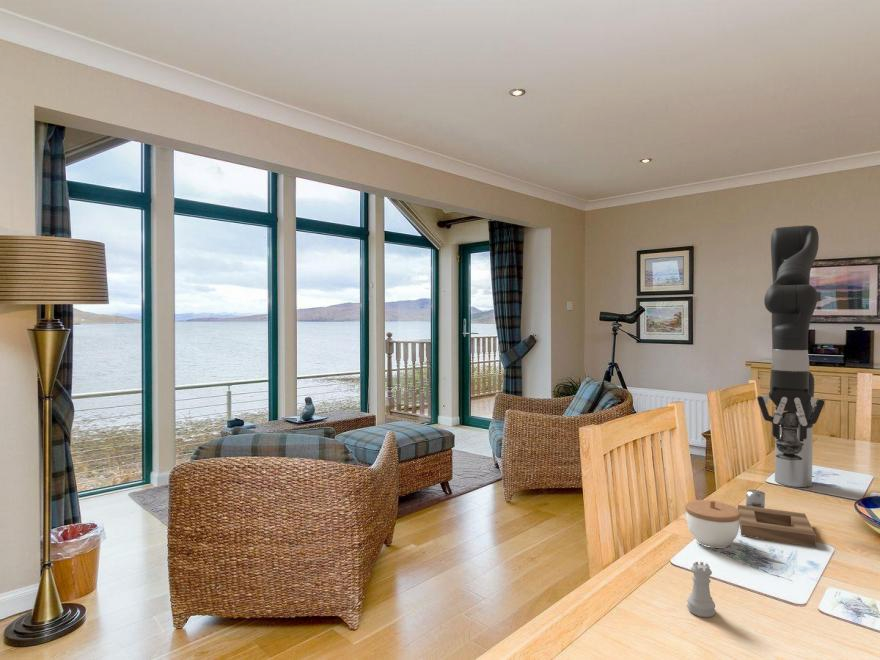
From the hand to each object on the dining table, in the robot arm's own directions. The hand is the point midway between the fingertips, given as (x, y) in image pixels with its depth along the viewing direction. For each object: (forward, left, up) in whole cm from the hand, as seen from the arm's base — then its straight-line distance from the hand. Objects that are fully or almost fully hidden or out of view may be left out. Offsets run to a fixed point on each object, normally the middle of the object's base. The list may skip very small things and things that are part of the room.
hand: (788, 439), depth 128 cm
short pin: (-5, -6, -20) cm, 22 cm away
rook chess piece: (+51, -18, -20) cm, 58 cm away
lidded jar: (+20, -16, -20) cm, 33 cm away
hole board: (+6, -3, -20) cm, 21 cm away
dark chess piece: (0, 0, -5) cm, 5 cm away
